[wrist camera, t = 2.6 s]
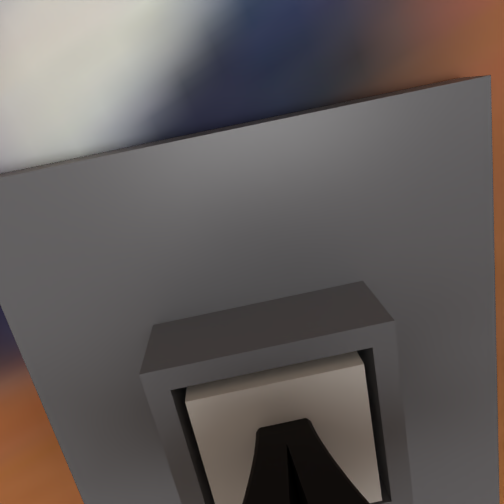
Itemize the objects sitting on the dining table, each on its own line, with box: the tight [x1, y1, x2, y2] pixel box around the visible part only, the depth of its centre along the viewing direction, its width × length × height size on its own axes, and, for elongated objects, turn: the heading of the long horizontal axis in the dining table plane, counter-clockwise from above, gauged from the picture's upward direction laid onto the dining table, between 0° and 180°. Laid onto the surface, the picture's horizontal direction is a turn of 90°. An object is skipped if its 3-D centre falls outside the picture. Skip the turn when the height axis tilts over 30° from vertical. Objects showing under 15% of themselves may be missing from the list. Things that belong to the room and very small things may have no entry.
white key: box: [185, 351, 382, 504], centre depth 13 cm, size 4×4×2 cm
